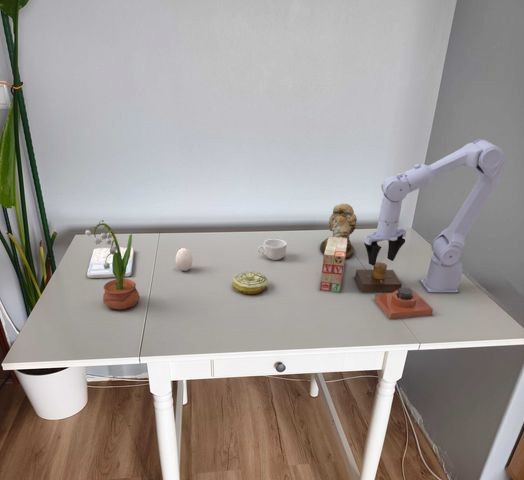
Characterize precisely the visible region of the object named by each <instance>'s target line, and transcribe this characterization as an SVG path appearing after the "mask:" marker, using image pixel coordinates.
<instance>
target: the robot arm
mask: <svg viewBox="0 0 524 480" xmlns="http://www.w3.org/2000/svg"><path fill="white" fill-rule="evenodd" d="M506 161H507V160H506V156H505V154H504V150H502V148H501V147H500V146H497V145H495V144H493V143H491V142H490V141H489V140H488V139H486V138H479V139H476V140H474V141H473V142H469V143H466V144H465V145H464V146H463V147H461V148H459V149H457V150H456V151H454V152H452V153H450V154H448V155H446V156H444V157H442V158H441V159H439V160H437V161H435V162H433V163H431V164H429V165H428V164H425V163H421V164H419V163H417V164H414V165H413V168H410V169H408V170H406V171H404V172H399V173H397V175H391V176H388V177H387V178H386V179H385V180H384V181H383V183H382V184H381V191H382V192H383V194H382V199H381V202H380V203H381V204H380V209H379V215H378V222H377V227H376V231H375V232H372V233H371V234H369V235H367V236H364V241H363V245H364V247H365V249H366V253H367V260H368V264H369V265H370V266H371V267H374V266H375V263H376V262H377V259H378V255H379V254H380V251H381V249H382V246H380V245H379V242H380V243H381V242H383V241H388V249H387V256H386V257H387V260H389V261H391V262H394V260H395V259H396V257H397V254H398V252H399V251H400V249H401V248H402V247H403V245H404V244H405V243H406V239H405V237H406V236H407V230H406V229H403V228H398V227H399V222H400V221H399V220H400V216H401V210H402V207H403V206H402V204H403V201H404V199H406V197H407V195H408V194H410V193H412V192H414V191H416V190H418V189H422V188H424V187H425V186H427V185H430V184H431V183H432V181H433V179H434V178H435V177H437V176H439V175H442V174H444V173H447V172H449V171H453V170H455V169H457V168H460V167H462V166H465V167H469V168H474V169H475V170H476V173H477V176H478V180H477V181H476V183H475V184H474V186H473V187H472V189H471V191H470V192H469V194H468V196H467V197H466V199H465V201H464V202H463V204H462V205H461V207H460V208H459V210H458V211H457V214H456V215H455V217H454V218H453V220H452V222H451V223H450V225H449V226H448V227H447V228H445V229H443V230H442V231H441V232H440V233H439V235H438V236H436V237H435V238H434V239H433V240H432V242H431V245H430V247H431V251H432V256H431V257H430V258H431V259H430V261H429V266H428V270H427V275H426V278H425V279H421V280H420V282H421V284H422V285H423V286H424V288H425V289H426V291H427V292H428V293H459V290H458V289H459V285H460V282H461V278H462V274H463V264H462V262H461V261H460V260H461V258H462V252H463V250H464V248H465V245H466V236H467V235H468V233H469V231H470V230H471V229H472V227H473V225H474V224H475V222H476V221H477V219H478V217H479V216H480V214H481V213H482V211H483V210H484V208H485V207H486V205H487V203H488V202H489V200H490V199H491V197H492V196H493V194H494V193H495V191H496V189H497V188H498V186H499V185H500V183H501V181H502V176H503V170H504V169H503V168H504V164H505V163H506Z"/></svg>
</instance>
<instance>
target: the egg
mask: <svg viewBox="0 0 524 480" xmlns="http://www.w3.org/2000/svg"><path fill="white" fill-rule="evenodd" d="M175 265H176V266H177V268H178V269H179V270H180V271H184V272H186V271H189V270H190V269H191V267H192V266H193V256H192V252H191V251H190V250H189V249H188V248H186V247H181V248H180V249H179V250H178V251H177V253H176V254H175Z"/></svg>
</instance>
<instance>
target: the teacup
mask: <svg viewBox="0 0 524 480" xmlns="http://www.w3.org/2000/svg"><path fill="white" fill-rule="evenodd" d="M287 247H288V242H287V241H286V240H284V239H281V238H268V239H265V240H264V241H263V245H260V246H258V247H257V252H258V253H259V254H261V255H264V256H265V257H266V258H267V259H269V260H271V261H279V260H281V259H282V258H284V257H285V254H286V252H287ZM260 249H262V250H263V252H262V251H260Z"/></svg>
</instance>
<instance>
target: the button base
mask: <svg viewBox="0 0 524 480" xmlns="http://www.w3.org/2000/svg"><path fill="white" fill-rule="evenodd" d="M412 291H413V294H412V298H411V299H410V300H404V299H401V298H399V297H398V296H397V295H398V290H397V291H395V292H393V293H376V294H374V298H373V301H374V302H375V304H376V305H377V306H378V307H379V308H380V309H381V312H383V313H384V314H385V316H386V317H387V318H388V319H389V320H397V319H398V320H399V319H409V318H417V317H418V318H419V317H428V316H432V315H433V311H434V309H433V308H432V306H430V305H429V304H428V303H427V302H426V300H424V299H423V298H422V297H421V296H420V295H419V294H418V293H417V292H416V291H415V290H412Z"/></svg>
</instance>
